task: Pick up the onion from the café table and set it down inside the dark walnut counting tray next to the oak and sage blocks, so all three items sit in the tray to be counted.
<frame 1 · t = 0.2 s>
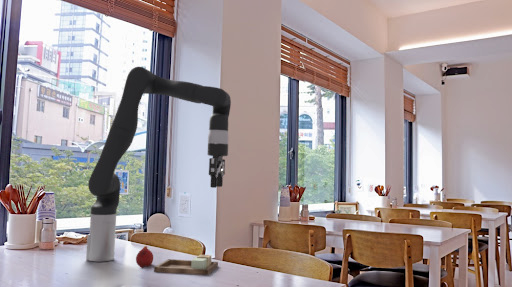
hand: (216, 187, 159), 29 cm above the table, tool pointing down, fingers open, 8 cm apart
sage block: (198, 271, 142), point 1 cm above the table, touching counting tray
counting tray: (186, 273, 145), on the table
onion: (144, 269, 150), on the table
oak block: (203, 267, 148), point 1 cm above the table, touching counting tray
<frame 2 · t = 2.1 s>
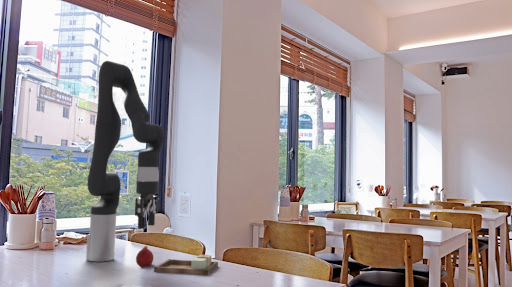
hand: (146, 226, 151), 15 cm above the table, tool pointing down, fingers open, 8 cm apart
nothing on the table moved.
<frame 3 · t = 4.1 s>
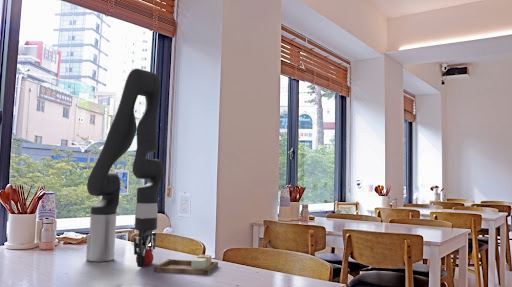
hand: (144, 264, 150), 2 cm above the table, tool pointing down, fingers closed on onion, 6 cm apart
onion: (144, 269, 150), on the table, touching gripper
everything else where it was.
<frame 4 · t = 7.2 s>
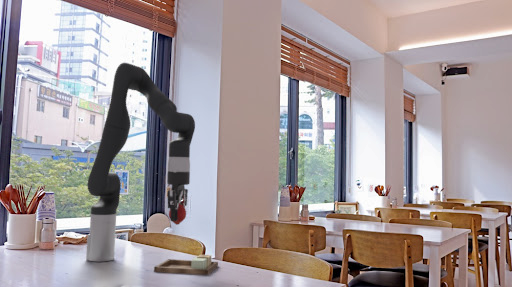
hand: (177, 220, 147), 18 cm above the table, tool pointing down, fingers closed on onion, 6 cm apart
onion: (177, 225, 147), point 16 cm above the table, touching gripper
everything else where it was.
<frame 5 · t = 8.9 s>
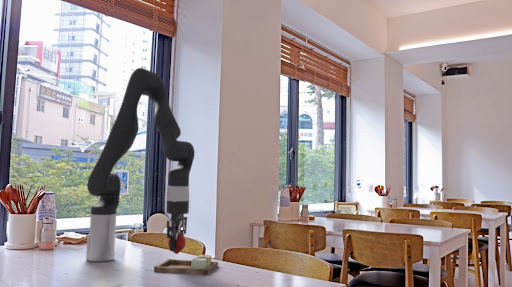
hand: (176, 249, 147), 8 cm above the table, tool pointing down, fingers closed on onion, 6 cm apart
onion: (176, 254, 147), point 6 cm above the table, touching gripper
everything else where it was.
when the fingers open (5 cm above the table, at t = 10.4 s): onion drops 2 cm, resting on counting tray.
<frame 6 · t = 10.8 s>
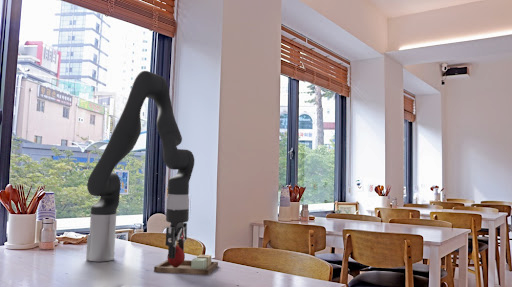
hand: (176, 255, 146), 6 cm above the table, tool pointing down, fingers open, 8 cm apart
onion: (175, 268, 146), point 1 cm above the table, touching counting tray
everything else where it was.
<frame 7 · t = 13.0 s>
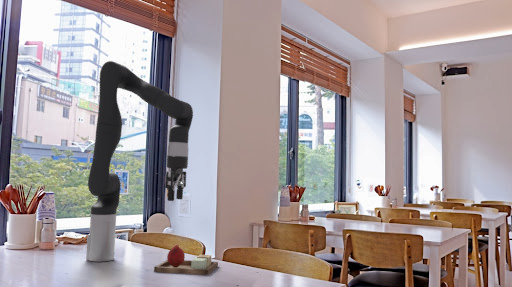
hand: (175, 200, 157), 24 cm above the table, tool pointing down, fingers open, 8 cm apart
nothing on the table moved.
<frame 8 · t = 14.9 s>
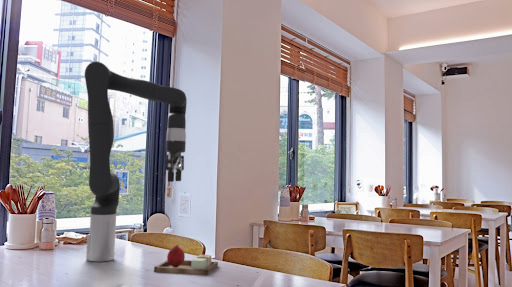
hand: (174, 181, 170), 30 cm above the table, tool pointing down, fingers open, 8 cm apart
nothing on the table moved.
at the end: onion inside the target area on the counting tray (1.9 cm from its centre), point 1.3 cm above the counting tray's base; the gripper is holding nothing; oak block moved 0.0 cm from its start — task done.
